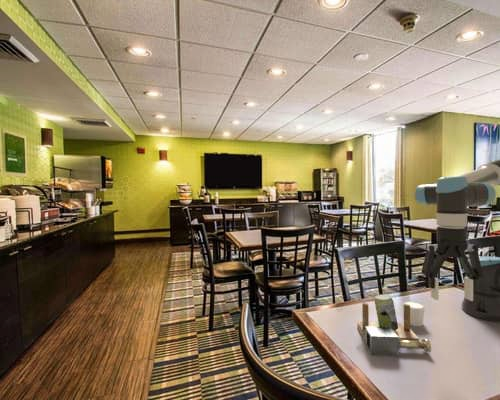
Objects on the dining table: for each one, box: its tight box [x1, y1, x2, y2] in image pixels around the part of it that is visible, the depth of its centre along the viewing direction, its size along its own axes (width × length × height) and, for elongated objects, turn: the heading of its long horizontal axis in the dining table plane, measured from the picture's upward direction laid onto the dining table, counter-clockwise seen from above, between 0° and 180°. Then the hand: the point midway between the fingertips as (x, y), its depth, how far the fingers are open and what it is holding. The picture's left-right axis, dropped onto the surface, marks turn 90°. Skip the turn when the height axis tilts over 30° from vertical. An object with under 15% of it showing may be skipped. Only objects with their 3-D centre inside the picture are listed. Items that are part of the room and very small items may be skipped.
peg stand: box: [356, 302, 420, 342], centre depth 93 cm, size 17×10×11 cm, turn 83°
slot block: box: [365, 326, 400, 358], centre depth 85 cm, size 8×6×6 cm
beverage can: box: [374, 294, 398, 331], centre depth 93 cm, size 6×7×12 cm
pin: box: [398, 338, 432, 353], centre depth 84 cm, size 10×4×4 cm, turn 83°
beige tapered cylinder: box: [403, 300, 425, 327], centre depth 102 cm, size 7×7×7 cm
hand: (451, 298), depth 82 cm, fingers open, 9 cm apart
